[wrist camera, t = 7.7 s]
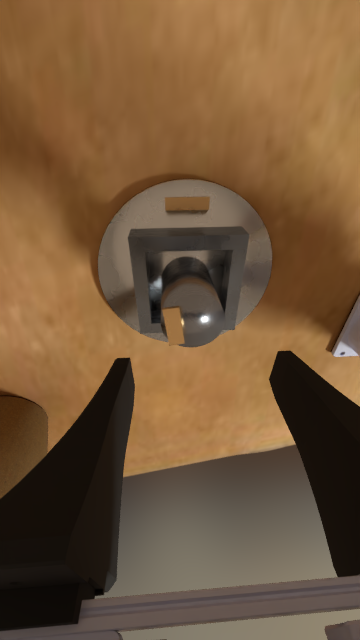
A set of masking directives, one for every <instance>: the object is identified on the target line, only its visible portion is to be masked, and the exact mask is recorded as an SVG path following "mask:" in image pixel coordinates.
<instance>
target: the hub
mask: <svg viewBox="0 0 360 640" xmlns="http://www.w3.org/2000/svg"><path fill="white" fill-rule="evenodd" d="M185 256H188V257H194V258H197V259H199V260H200V261H202V262H203V263H204V264H205V265H206V267H207V268H208V271H209V273H210V276H211V279H212V281H213V284H214V287H215V289H216V292H217V295H218V297H219V300H220V303H221V305H222V308H223V311H224V314H225V324H224V327H223V330H222V331H221V333H220V334H219V335H221V334H223V333H225V332H226V331H228V330H234V329H235V326H236V325H238V324H239V323H240V322H241V321H242V320H244V319H245V318H246V317H247V316H248V315H249V314H250V313H251V312H252V311H253V309H254V308H255V307H256V305H257V304H258V303H259V301H260V299H261V298H262V296H263V294H264V292H265V290H266V287H267V285H268V282H269V278H270V275H271V268H272V248H271V242H270V238H269V235H268V232H267V229H266V227H265V225H264V223H263V221H262V219H261V218H260V216H259V215H258V213H257V212H256V211H255V210H254V208H253V207H252V206H251V205H250V204H249V203H248V202H247V201H246V200H244V199H243V198H242V197H241V196H239V195H238V194H236V193H235V192H233V191H231V190H230V189H228V188H226V187H224V186H221V185H219V184H216V183H214V182H209V181H205V180H200V179H177V180H170V181H166V182H162V183H159V184H156V185H154V186H151V187H149V188H147V189H145V190H143V191H142V192H140V193H138V194H137V195H135V196H134V197H133V198H131V199H130V200H129V201H128V202H126V203H125V204H124V205H123V207H122V208H121V209H120V210H119V211H118V212H117V213H116V215H115V216H114V218H113V219H112V221H111V222H110V224H109V225H108V227H107V229H106V231H105V234H104V236H103V238H102V242H101V245H100V249H99V256H98V274H99V281H100V284H101V288H102V291H103V293H104V295H105V298H106V300H107V302H108V303H109V305H110V306H111V308H112V309H113V311H114V312H115V313H116V314H117V315H118V317H119V318H120V319H122V320H123V321H124V322H125V323H126V324H127V325H129V326H130V327H131V328H133V329H134V330H136V331H138V332H139V333H140V334H143V335H146V336H148V337H150V338H154V339H157V340H161V341H165V342H169V341H168V339H167V338H166V336H165V335H164V333H163V331H162V329H161V276H162V272H163V270H164V268H165V267H166V266H167V264H168V263H170V262H171V261H172V260H174V259H176V258H179V257H185Z"/></svg>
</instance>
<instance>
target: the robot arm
mask: <svg viewBox="0 0 360 640" xmlns="http://www.w3.org/2000/svg"><path fill="white" fill-rule="evenodd" d="M332 355H333V356H334V357H342V356H359V357H360V295H359V297H358V299H357V301H356V303H355V305H354V307H353V309H352V311H351V314H350V316H349V318H348V320H347V322H346V324H345V326H344V328H343V330H342V332H341V334H340V336H339V338H338V340H337V342H336V344H335V346H334V348H333V350H332ZM269 381H270V384H271V387H272V391H273V394H274V397H275V399H276V402H277V404H278V406H279V408H280V411H281V413H282V415H283V417H284V419H285V421H286V424H287V426H288V428H289V430H290V432H291V434H292V436H293V439H294V441H295V443H296V445H297V448H298V450H299V453H300V455H301V458H302V461H303V463H304V467H305V470H306V472H307V475H308V479H309V482H310V485H311V487H312V491H313V494H314V497H315V500H316V503H317V507H318V510H319V513H320V517H321V521H322V524H323V528H324V531H325V535H326V539H327V543H328V546H329V550H330V554H331V558H332V562H333V566H334V569H335V571H336V574H337V576H338V577H336V578H326V579H315V580H303V581H292V582H280V583H269V584H258V585H248V586H236V587H224V588H213V589H202V590H191V591H180V592H168V593H159V594H158V593H157V594H146V595H135V596H125V597H112V598H102V599H94V598H95V596H98V595H104V592H108V591H109V590H110V588H111V587H112V586H113V585H114V583H115V581H116V577H117V557H118V538H119V536H118V535H119V522H120V507H121V493H122V481H123V469H124V460H125V452H126V447H127V441H128V435H129V430H130V424H131V418H132V412H133V406H134V391H135V384H134V378H133V373H132V367H131V361H130V358H117V359H116V360H115V361H114V363H113V365H112V367H111V369H110V371H109V373H108V374H107V376H106V378H105V379H104V381H103V383H102V384H101V386H100V387H99V389H98V391H97V392H96V394H95V395H94V397H93V398H92V400H91V401H90V402H89V404H88V405H87V407H86V408H85V409H84V411H83V412H82V414H81V415H80V416H79V418H78V419H77V420H76V421H75V423H74V424H73V425H72V426H71V428H70V429H69V430H68V431H67V432H66V434H65V435H64V436H63V437H62V438H61V439H60V440H59V442H58V443H57V444H56V445H55V446H54V447H53V448H52V449H51V450H50V452H49V453H48V454H47V455H46V456H45V457H44V458H43V459H42V460H41V461H40V462H39V463H38V464H37V465H36V466H35V467H34V468H33V469H32V470H31V471H30V472H29V473H28V474H27V475H26V476H25V477H24V478H23V479H22V480H21V481H20V482H18V483H17V484H16V485H15V486H14V487H13V488H12V489H11V490H10V491H9V492H7V493H6V494H5V495H4V496H3V497H2V498H1V499H0V640H123V639H122V636H121V634H120V633H118V632H122V631H132V630H143V629H154V628H163V627H174V626H183V625H184V626H185V625H195V624H206V623H216V622H226V621H237V620H248V619H258V618H268V617H278V616H288V615H299V614H309V613H321V612H331V611H341V610H351V609H360V407H359V406H358V405H357V404H355V403H354V402H352V401H351V400H350V399H348V398H347V397H346V396H344V395H343V394H342V393H340V392H339V391H338V390H337V389H335V388H334V387H333V386H332V385H330V384H329V383H328V382H327V381H325V380H324V379H323V378H322V377H321V376H319V375H318V374H317V373H316V372H315V371H314V370H312V369H311V368H310V367H309V366H308V365H307V364H305V363H304V362H303V361H302V360H301V359H300V358H298V357H297V356H296V355H295V354H294V353H292V352H291V351H278V353H277V356H276V359H275V362H274V365H273V369H272V372H271V375H270V378H269ZM325 633H326V635H327V639H328V640H360V620H353V621H347V622H345V623H340V624H335V625H330V626H326V627H325ZM162 640H166V639H162Z"/></svg>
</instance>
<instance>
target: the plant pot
mask: <svg viewBox="0 0 360 640" xmlns="http://www.w3.org/2000/svg"><path fill="white" fill-rule="evenodd" d="M47 447H48V417H47V414H46V412H45V411H44V410H43V409H42V408H41V407H40V406H38V405H37V404H35V403H33V402H31V401H28V400H25V399H22V398H18V397H11V396H0V499H1V498H2V497H3V496H4V495H5V494H6V493H7V492H9V491H10V490H11V489H12V488H13V487H14V486H15V485H16V484H17V483H18V482H20V481H21V480H22V479H23V478H24V477H25V476H26V475H27V474H28V473H29V472H30V471H31V470H32V469H33V468H34V467H35V466H36V465H37V464H38V463H39V462H40V461H41V460H42V459H43V458H44V457H45V456H46V455H47Z"/></svg>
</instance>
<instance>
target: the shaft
mask: <svg viewBox="0 0 360 640" xmlns="http://www.w3.org/2000/svg"><path fill="white" fill-rule="evenodd" d="M224 324H225V314H224V311H223V308H222V305H221V303H220V300H219V297H218V295H217V292H216V289H215V287H214V284H213V281H212V279H211V276H210V273H209V271H208V268H207V267H206V265H205V264H204V263H203V262H202V261H200V260H199V259H197V258H194V257H188V256H185V257H179V258H176V259H174V260H172V261H171V262H170V263H168V264H167V266H166V267H165V268H164V270H163V272H162V276H161V329H162V331H163V333H164V335H165V336H166V338H167V339H168V341H169V346H170V345H179V346H183V347H198V346H202V345H205V344H207V343H209V342H211V341H213V340H214V339H215V338H216V337H217V336H218V335H219V334H220V333H221V331H222V330H223V327H224Z"/></svg>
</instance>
